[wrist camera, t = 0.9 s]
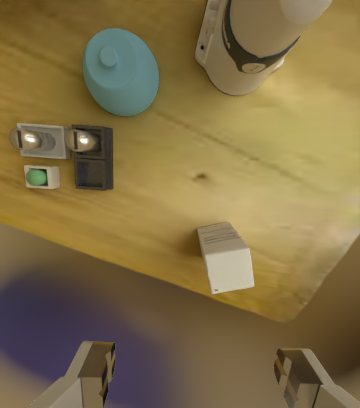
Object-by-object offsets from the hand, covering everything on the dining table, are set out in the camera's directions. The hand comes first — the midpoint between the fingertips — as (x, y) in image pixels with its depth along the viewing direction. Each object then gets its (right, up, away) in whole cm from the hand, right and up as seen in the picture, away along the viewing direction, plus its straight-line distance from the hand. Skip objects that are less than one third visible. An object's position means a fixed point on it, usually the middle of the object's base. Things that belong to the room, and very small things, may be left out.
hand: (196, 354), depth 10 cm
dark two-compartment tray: (-21, +18, +37) cm, 46 cm away
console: (-33, +14, +38) cm, 52 cm away
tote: (-32, +22, +36) cm, 53 cm away
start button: (-33, +14, +36) cm, 51 cm away
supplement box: (+9, -2, +43) cm, 44 cm away
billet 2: (-21, +21, +35) cm, 46 cm away
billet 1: (-32, +22, +36) cm, 52 cm away
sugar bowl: (-13, +34, +33) cm, 50 cm away
